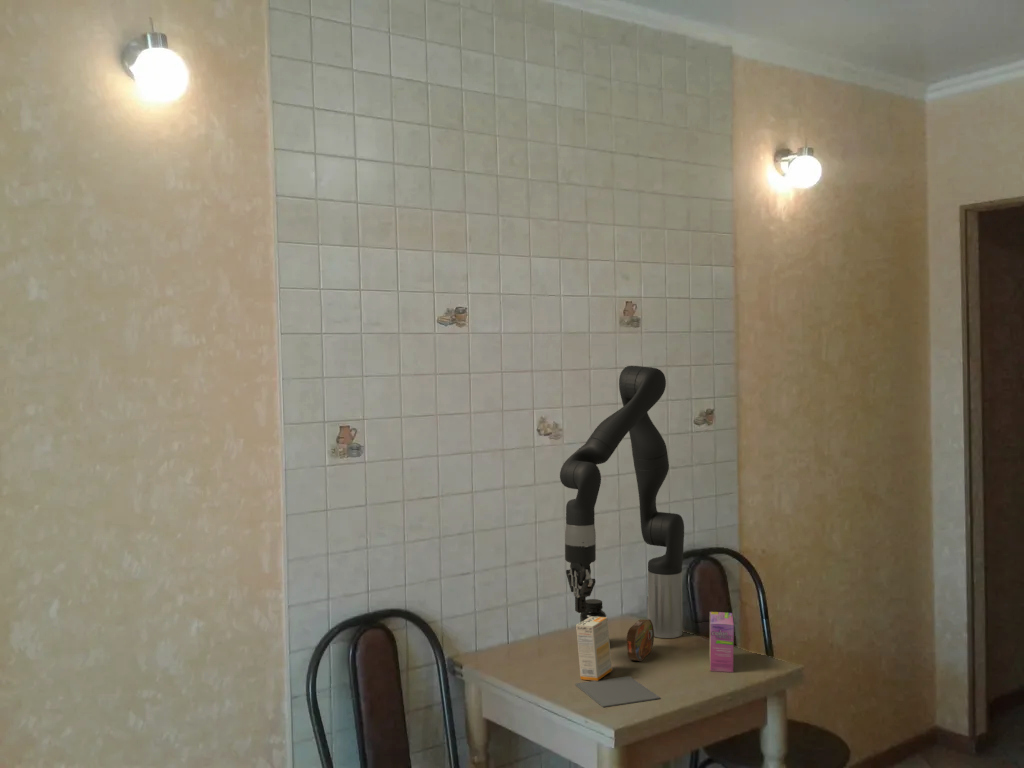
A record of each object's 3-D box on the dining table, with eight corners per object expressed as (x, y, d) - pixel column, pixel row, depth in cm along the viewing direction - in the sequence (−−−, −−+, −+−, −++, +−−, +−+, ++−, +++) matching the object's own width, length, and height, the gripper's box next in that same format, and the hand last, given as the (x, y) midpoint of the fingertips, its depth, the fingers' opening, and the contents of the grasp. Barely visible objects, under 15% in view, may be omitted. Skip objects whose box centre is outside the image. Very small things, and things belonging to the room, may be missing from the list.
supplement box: (594, 669, 227) (590, 615, 227) (612, 671, 225) (608, 616, 225) (579, 679, 220) (574, 624, 220) (597, 681, 218) (593, 625, 218)
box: (734, 673, 224) (734, 624, 224) (709, 671, 225) (709, 623, 225) (732, 659, 234) (732, 612, 234) (709, 658, 235) (709, 611, 235)
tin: (636, 665, 230) (636, 631, 230) (624, 663, 232) (624, 630, 231) (655, 648, 244) (655, 616, 243) (643, 646, 245) (643, 614, 245)
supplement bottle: (574, 646, 245) (574, 601, 245) (592, 641, 250) (592, 596, 250) (594, 652, 240) (593, 606, 240) (611, 646, 245) (611, 601, 245)
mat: (575, 684, 217) (575, 683, 217) (629, 677, 222) (629, 676, 222) (603, 707, 203) (603, 706, 203) (660, 698, 207) (660, 697, 207)
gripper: (555, 538, 235) (555, 607, 235) (577, 547, 223) (577, 620, 223) (583, 536, 238) (583, 604, 238) (605, 545, 225) (605, 617, 225)
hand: (580, 611), depth 230 cm, fingers closed
